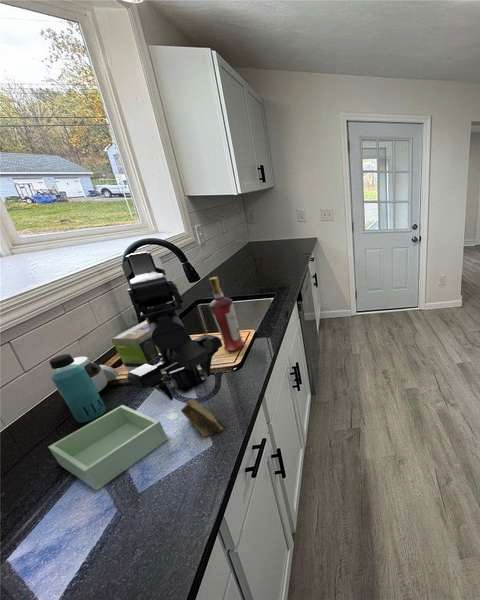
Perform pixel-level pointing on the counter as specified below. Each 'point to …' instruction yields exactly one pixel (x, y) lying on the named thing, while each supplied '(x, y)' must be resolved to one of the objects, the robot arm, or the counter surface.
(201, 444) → the counter surface
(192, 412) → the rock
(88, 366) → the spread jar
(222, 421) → the counter surface
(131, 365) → the tea box
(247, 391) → the counter surface
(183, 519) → the counter surface
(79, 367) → the beverage bottle
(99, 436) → the shallow rectangular tray
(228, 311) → the liquor
